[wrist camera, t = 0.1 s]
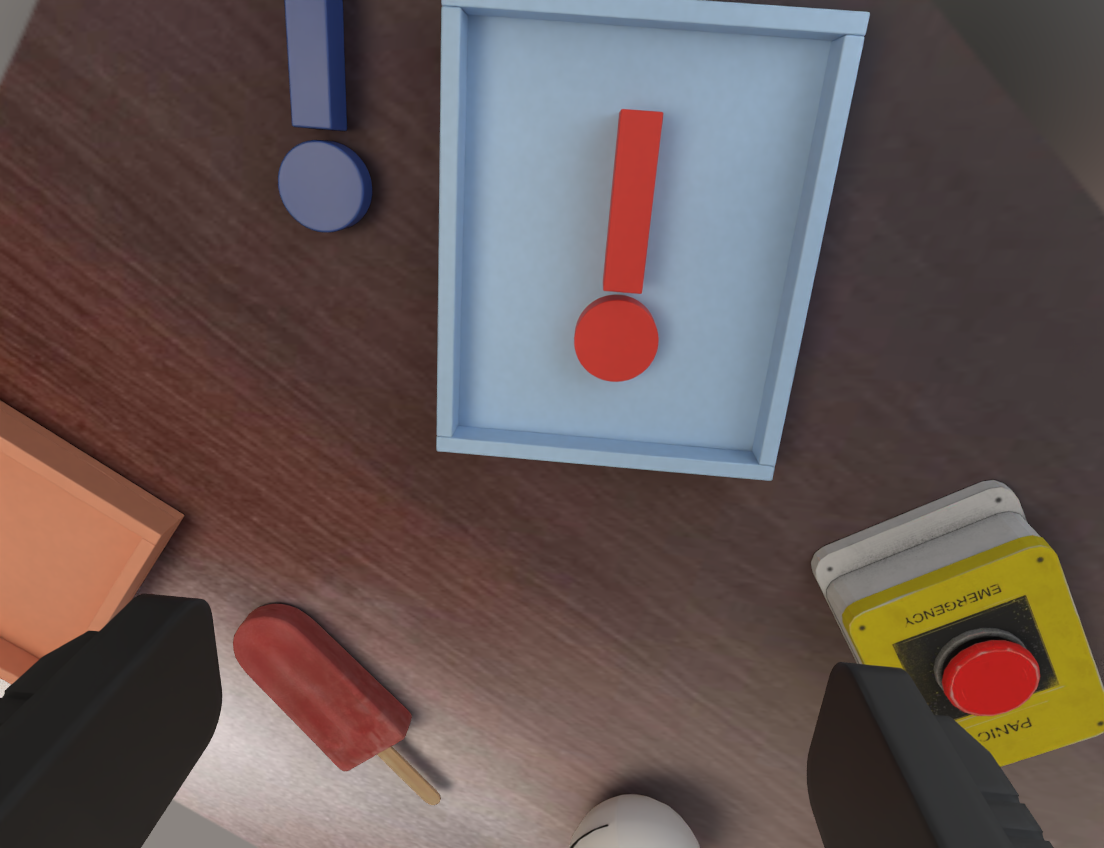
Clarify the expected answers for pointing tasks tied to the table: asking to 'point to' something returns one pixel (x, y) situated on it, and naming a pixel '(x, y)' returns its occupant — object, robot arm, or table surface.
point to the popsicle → (325, 691)
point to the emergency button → (970, 619)
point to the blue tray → (675, 229)
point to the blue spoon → (320, 123)
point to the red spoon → (625, 259)
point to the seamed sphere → (633, 825)
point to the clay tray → (66, 542)
